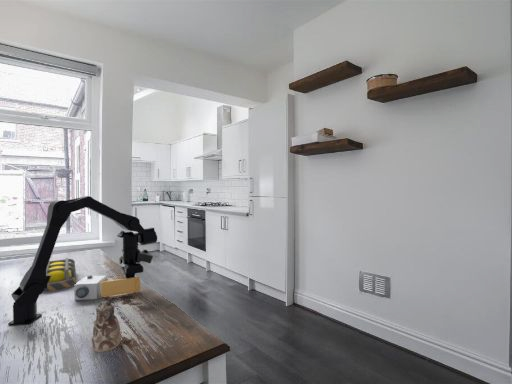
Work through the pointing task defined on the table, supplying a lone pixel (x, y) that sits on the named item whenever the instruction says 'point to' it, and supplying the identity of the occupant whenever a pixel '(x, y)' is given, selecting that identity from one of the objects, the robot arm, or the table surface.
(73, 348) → the table surface
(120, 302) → the table surface
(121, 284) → the side door
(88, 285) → the block
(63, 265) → the cage light
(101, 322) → the figurine
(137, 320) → the table surface
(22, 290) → the robot arm
